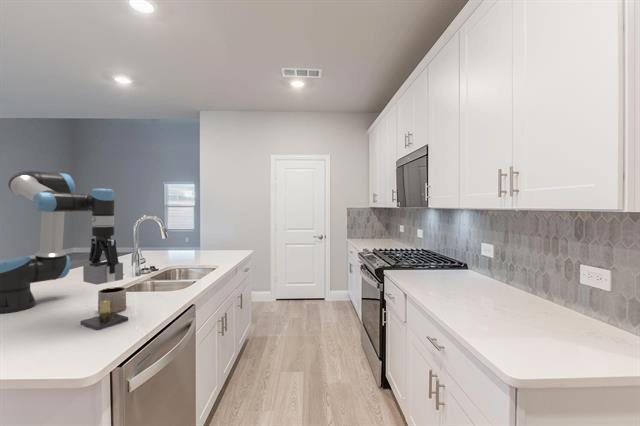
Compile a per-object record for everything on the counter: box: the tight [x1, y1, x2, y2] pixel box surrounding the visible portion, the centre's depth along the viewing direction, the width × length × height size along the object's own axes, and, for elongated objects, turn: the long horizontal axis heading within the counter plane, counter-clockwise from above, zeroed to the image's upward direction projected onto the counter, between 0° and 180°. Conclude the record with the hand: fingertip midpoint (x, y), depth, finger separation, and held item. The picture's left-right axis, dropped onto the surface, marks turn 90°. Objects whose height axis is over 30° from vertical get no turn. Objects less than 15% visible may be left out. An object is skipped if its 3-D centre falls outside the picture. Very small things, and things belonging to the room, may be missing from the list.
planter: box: [97, 286, 127, 314], centre depth 144 cm, size 11×11×10 cm
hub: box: [80, 300, 129, 331], centre depth 129 cm, size 12×12×9 cm
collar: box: [82, 260, 124, 286], centre depth 128 cm, size 10×10×7 cm
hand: (103, 279), depth 129 cm, fingers closed on collar, 10 cm apart
